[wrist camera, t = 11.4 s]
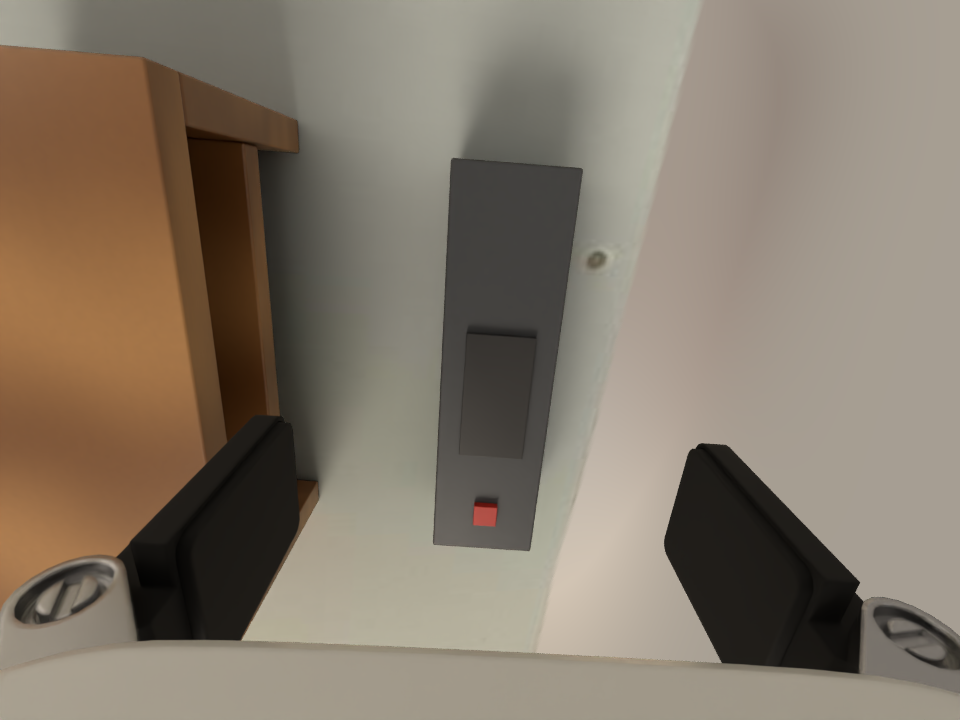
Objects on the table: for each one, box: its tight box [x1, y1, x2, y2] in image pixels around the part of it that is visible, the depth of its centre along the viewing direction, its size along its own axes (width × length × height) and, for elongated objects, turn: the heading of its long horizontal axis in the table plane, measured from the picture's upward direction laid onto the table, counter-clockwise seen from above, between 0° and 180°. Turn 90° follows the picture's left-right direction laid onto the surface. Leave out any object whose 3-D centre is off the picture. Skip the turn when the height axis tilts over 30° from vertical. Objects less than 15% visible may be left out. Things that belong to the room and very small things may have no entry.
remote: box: [433, 158, 583, 551], centre depth 19 cm, size 16×4×4 cm, turn 176°
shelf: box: [0, 45, 319, 641], centre depth 17 cm, size 18×9×8 cm, turn 176°
